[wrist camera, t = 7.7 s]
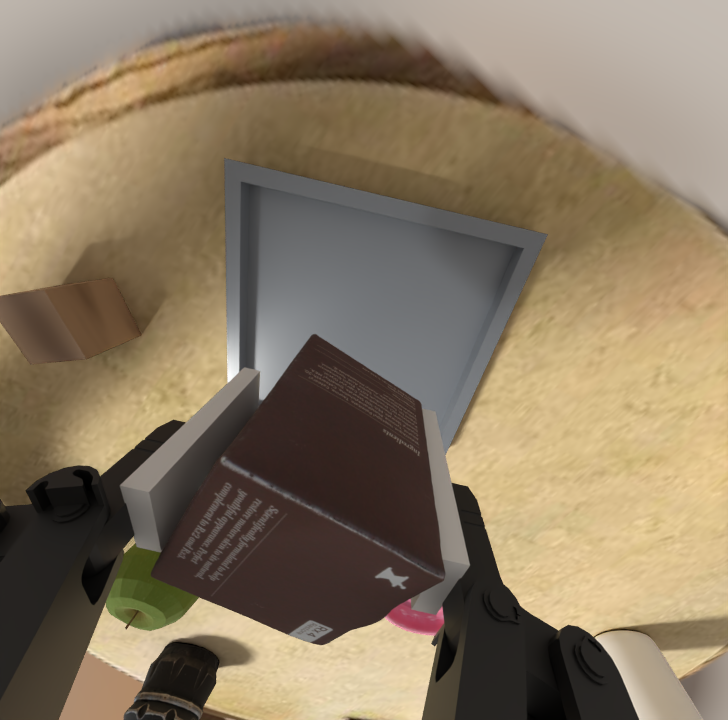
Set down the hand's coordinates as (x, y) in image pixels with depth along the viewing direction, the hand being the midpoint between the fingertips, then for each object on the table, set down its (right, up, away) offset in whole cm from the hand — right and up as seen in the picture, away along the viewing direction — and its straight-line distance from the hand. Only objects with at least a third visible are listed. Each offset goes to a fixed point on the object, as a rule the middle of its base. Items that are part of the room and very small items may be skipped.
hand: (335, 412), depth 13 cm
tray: (+1, +4, +9) cm, 10 cm away
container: (-33, -57, +42) cm, 78 cm away
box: (0, 0, 0) cm, 0 cm away
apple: (-18, -16, +21) cm, 32 cm away
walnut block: (-21, +7, +11) cm, 25 cm away
